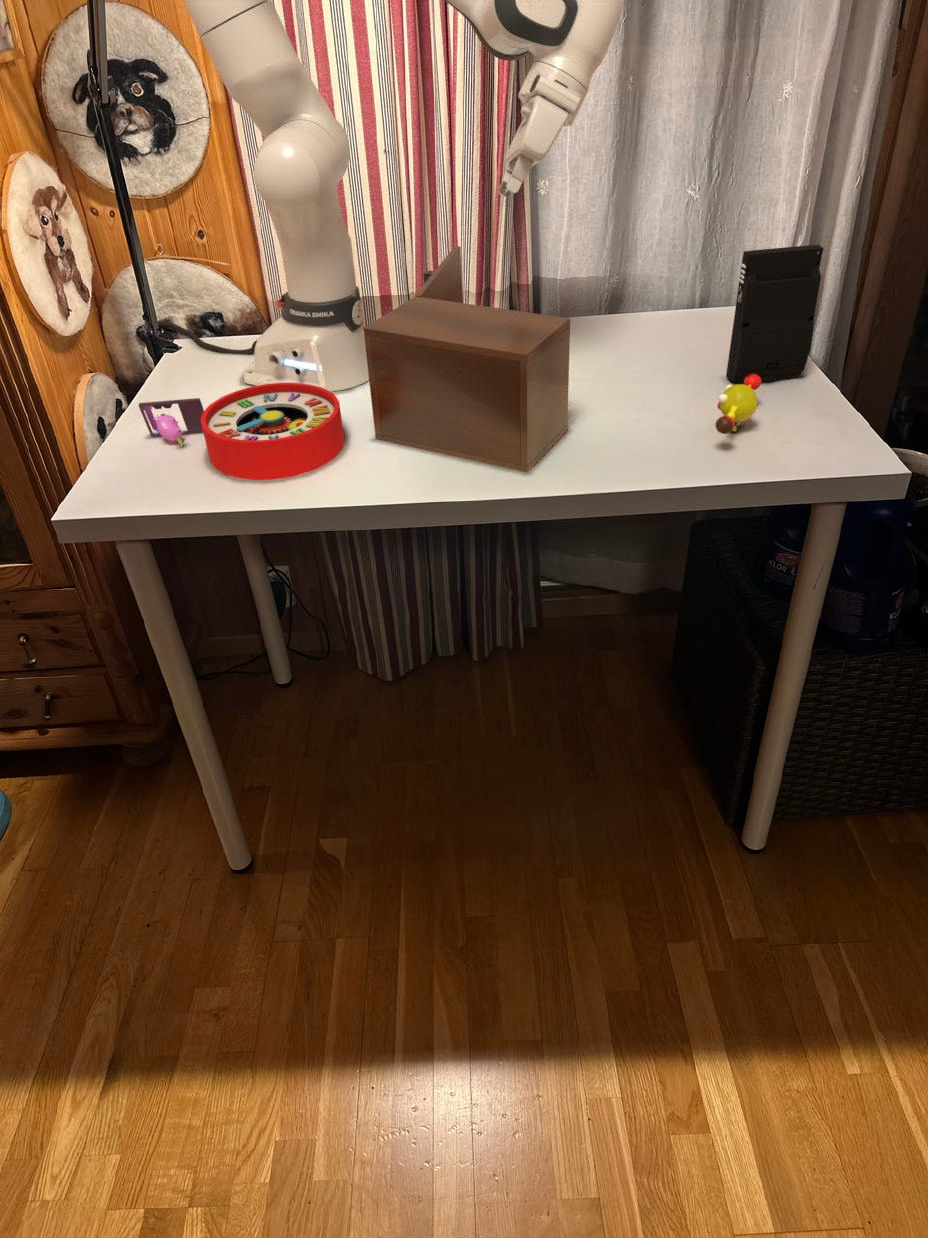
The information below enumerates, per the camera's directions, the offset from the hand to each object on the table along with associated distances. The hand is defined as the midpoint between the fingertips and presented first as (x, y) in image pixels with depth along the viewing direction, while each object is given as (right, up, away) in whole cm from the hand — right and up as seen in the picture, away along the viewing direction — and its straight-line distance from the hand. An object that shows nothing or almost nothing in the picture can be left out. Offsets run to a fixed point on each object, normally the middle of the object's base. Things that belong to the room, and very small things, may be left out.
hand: (506, 193), depth 137 cm
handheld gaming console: (+42, -25, +12) cm, 50 cm away
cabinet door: (-12, -20, +21) cm, 32 cm away
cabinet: (-5, -36, +1) cm, 36 cm away
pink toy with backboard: (-50, -36, +4) cm, 62 cm away
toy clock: (-34, -38, 0) cm, 51 cm away
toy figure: (+33, -36, -1) cm, 49 cm away
